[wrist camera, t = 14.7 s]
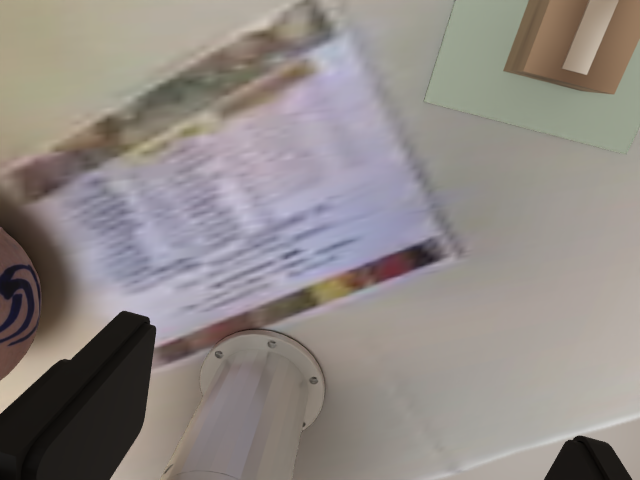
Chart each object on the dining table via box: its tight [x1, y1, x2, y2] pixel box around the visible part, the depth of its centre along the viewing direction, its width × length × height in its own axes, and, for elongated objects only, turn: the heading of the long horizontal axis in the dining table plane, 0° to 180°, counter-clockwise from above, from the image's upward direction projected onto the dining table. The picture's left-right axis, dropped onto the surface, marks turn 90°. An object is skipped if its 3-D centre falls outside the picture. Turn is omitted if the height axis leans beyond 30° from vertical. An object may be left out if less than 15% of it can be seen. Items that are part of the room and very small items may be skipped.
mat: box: [424, 0, 640, 154], centre depth 33 cm, size 16×16×1 cm
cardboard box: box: [503, 0, 640, 95], centre depth 31 cm, size 6×9×5 cm, turn 166°
